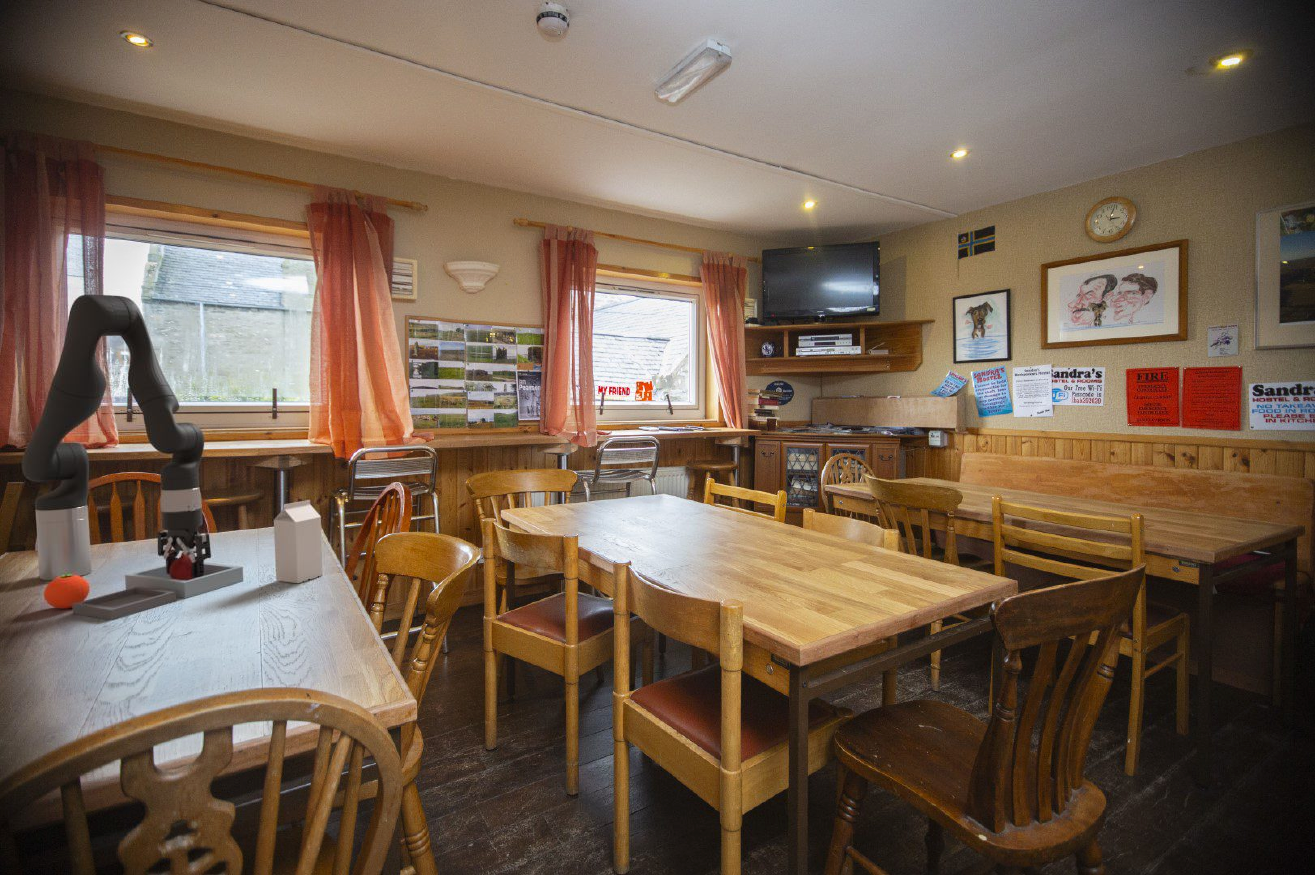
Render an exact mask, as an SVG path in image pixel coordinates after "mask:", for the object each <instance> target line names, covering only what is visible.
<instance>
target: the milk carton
mask: <svg viewBox="0 0 1315 875" xmlns="http://www.w3.org/2000/svg"><path fill="white" fill-rule="evenodd" d="M321 518H322V517H321V515H320V513H318V511H316V509H315V508H314V507H313V506H312V505H311V499H307V500H302V501H296V502H291V503H285V504H283V509H282V510H281V511H280V513H279V514H278V515H277V516H276V517H275V518H274V519H273V533H274V537H273V538H274V554H275V555H274V557H275V558H274V559H275V561H274V562H275V580H276V581H279V582H285V583H292V584H301V583H304V582H307V581H309V580H308V579H310V580H313V579H316V578H318V576H319V577H322V576H323V575H324V574H323V573H324V572H323V571H324V570H323V546H322V545H323V544H322V519H321ZM321 575H322V576H321ZM306 580H307V581H306ZM303 581H304V582H303Z"/></svg>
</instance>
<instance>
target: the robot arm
mask: <svg viewBox="0 0 1315 875" xmlns="http://www.w3.org/2000/svg"><path fill="white" fill-rule="evenodd" d="M102 337H121V339H122V340H123V342H124V343H125V345H126V346H127V348H128V351H129V366H128V371H127V372H128V373H127V383H128V388H129V390H130V393H131V394H132V397H133V399H134V400H135V402H136V404H137V406H138V407H139V409H140V411H141V412H142V416H143V423H144V426H145V431H146V436H147V439H148V441H149V443H150V445H151V446H152V447H153V449H155V450H156V451H158V452H160V453H161V454H166V455H172V456H171V460H170V461H169V462H168V463H167V464H165V465H162V467H161V469H160V489H161V490H160V493H161V494H160V513H161V514H160V515H161V528H162V530H159V531H158V532H157V555H158V556H159V557H162V558H163V559H164V560H165V565H166V571H167V574H168V575H170V574H169V572H170V567H171V565H172V564H173V562H174V561H175V560H177V559H178V558H179V557H178V555H179V553H180V552H184V553H185V554H186V555H188V556H189V557H190V559H191V560H192V563H191V564H192V577H193V578H199V577H202V576H203V575H204V562H205V560H206V559H210V558H212V551H211V542H210V540H211V539H210V533H208V532H205V533H200V532H199V529H198V528H199V527H202V525H203V507H202V506H203V505H202V493H201V490H200V489H201V488H200V479H199V478H200V476H199V468H200V465H201V462H202V456H203V454H204V450H205V449H204V448H205V436H204V434H203V431H202V429H201V428H200V427H199V426H198V425H197V424H195V423H193V422H176V420H175V417H174V414H176V413H177V412H179V410H180V403H179V401H178V399H177V397H176V395H175V392H174V391H173V390H172V388H171V386H170V383H168V381H167V379H166V377H165V374H164V373H163V371H162V369H161V366H160V363H159V361H158V357H157V354H156V351H155V349H154V346H153V342H152V339H151V335H150V333H149V329H148V328H147V324H146V320H145V318H144V316H143V314H142V312H141V309H140V308H139V306H138V305H137V304H136V303H135V301H134V300H132V299H131V298H129V297H127V296H122V295H109V294H90V293H89V294H88V293H87V294H82V295H79V296H78V297H76V299H75V300H74V301H73V302H72V304H71V306H70V310H69V315H68V318H67V325H66V331H65V337H64V342H63V348H62V351H61V354H60V358H59V361H58V365H57V368H56V370H55V372H54V375H53V377H52V380H51V385H50V387H49V390H48V393H47V397H46V401H45V404H44V407H43V410H42V413H41V415H40V419H39V421H38V423H37V426H36V428H35V429H34V431H33V434H32V436H31V437H30V439H29V442H28V444H27V446H26V448H25V450H24V453H23V456H22V460H21V461H22V462H21V469H22V473H23V476H24V477H25V478H26V479H27V480H29V481H32V482H37V483H38V482H39V483H41V482H42V483H45V482H55V481H56V482H57V481H61V484H60V485H59V486H58V487H57V488H55V489H53V490H52V491H50V492H48V493H46V494H43V495H41V496H37V497H36V499H35V501H34V507H35V521H36V523H35V524H36V535H37V536H36V538H37V540H36V543H37V545H36V546H37V548H36V549H37V559H38V573H39V574H38V576H40V577H39V578H40V580H41V579H42V580H41V581H53V580H54V579H56V578H58V577H61V576H62V575H68V574H71V575H77V576H80V577H82V576H84V575H88V574H90V573H92V559H91V557H92V555H91V554H92V553H91V540H90V525H89V523H90V522H89V510H88V509H89V507H88V498H89V489H90V488H89V486H90V485H89V483H90V482H89V478H90V476H89V472H90V464H89V463H90V461H89V455H88V451H87V449H86V448H85V446H84V445H83V444H81V443H79V442H62V441H63V439H64V438H65V437H67V435H68V434H69V433H71V432H72V431H73V430H74V429H76V428H77V427H79V426H81V425H82V423H84V422H86V421H87V420H89V418H91V417H92V416H93V415H94V414H96V412H97V411H98V410H99V408H100V406H101V404H102V401H103V398H104V396H105V394H106V390H107V379H106V376H105V373H103V371H102V368H101V366H100V365H99V363H98V361H97V358H96V351H97V347H98V343H99V342H100V339H101V338H102ZM164 547H165V548H164ZM203 550H204V551H203Z"/></svg>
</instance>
